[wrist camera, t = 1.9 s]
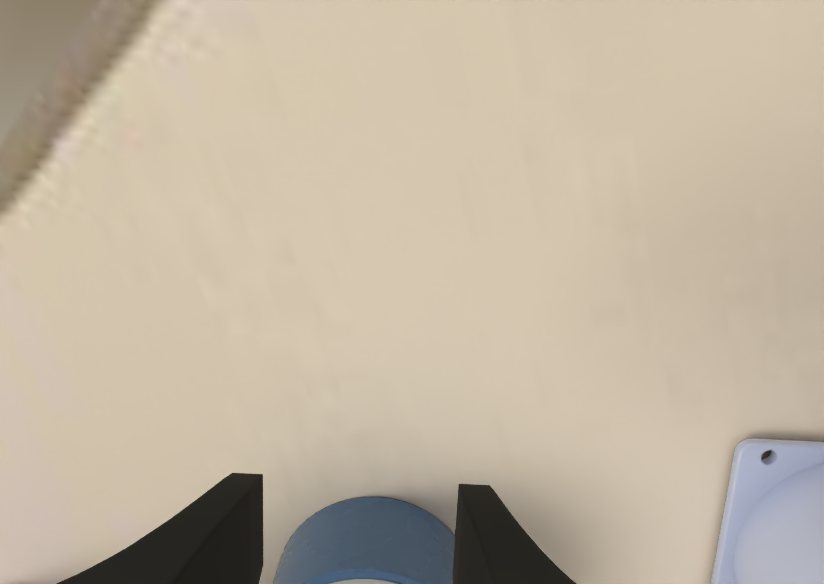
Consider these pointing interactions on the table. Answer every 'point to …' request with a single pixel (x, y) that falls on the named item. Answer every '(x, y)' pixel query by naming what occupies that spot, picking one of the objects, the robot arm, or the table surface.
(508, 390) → the table surface
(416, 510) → the tin
